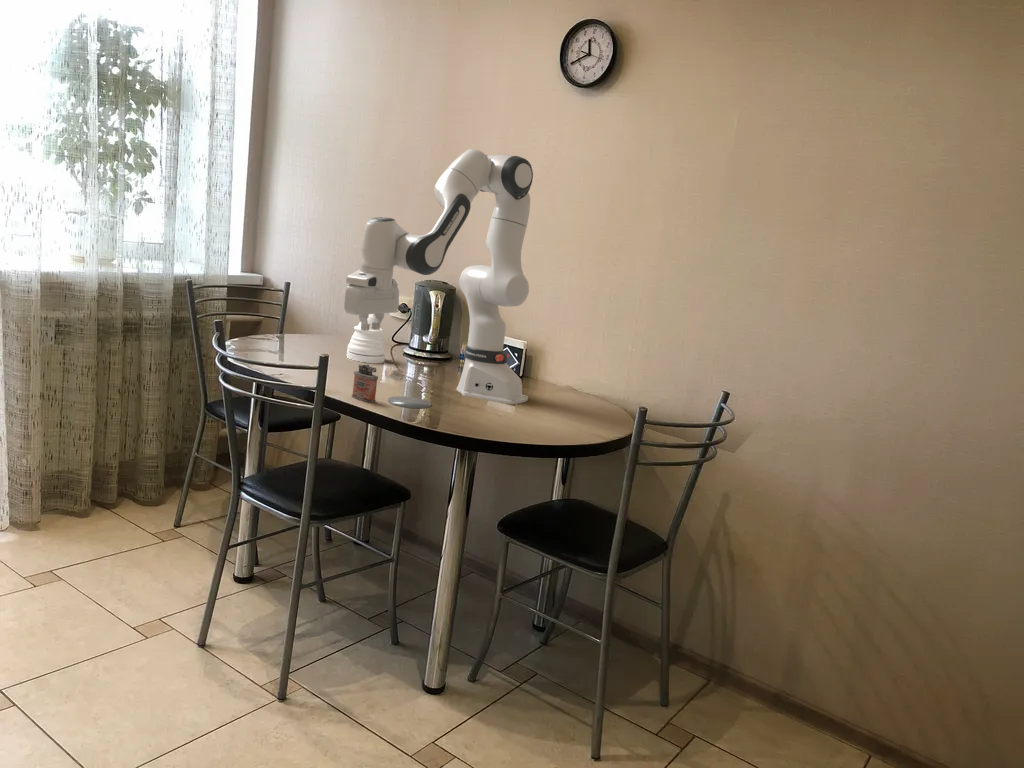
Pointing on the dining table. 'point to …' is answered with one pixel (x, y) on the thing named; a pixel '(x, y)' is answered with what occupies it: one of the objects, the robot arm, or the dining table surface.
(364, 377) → the lighter
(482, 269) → the robot arm
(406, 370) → the dining table surface
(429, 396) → the dining table surface
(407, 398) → the coaster
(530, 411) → the dining table surface
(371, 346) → the honey pot
